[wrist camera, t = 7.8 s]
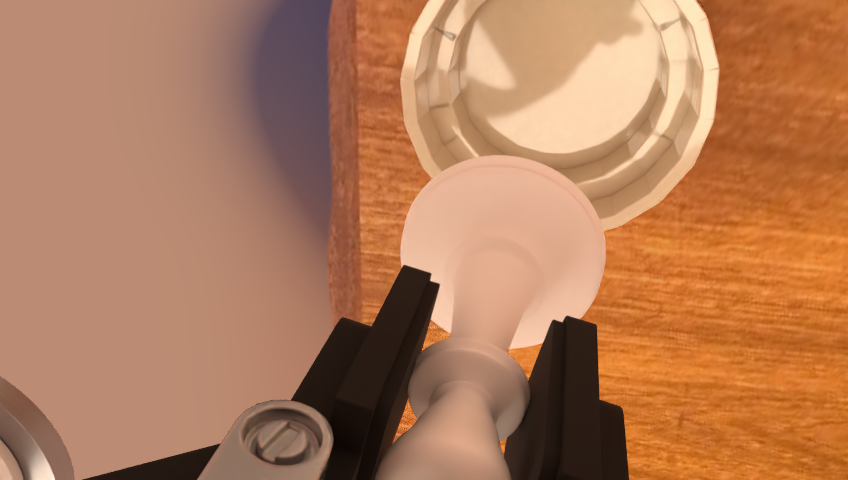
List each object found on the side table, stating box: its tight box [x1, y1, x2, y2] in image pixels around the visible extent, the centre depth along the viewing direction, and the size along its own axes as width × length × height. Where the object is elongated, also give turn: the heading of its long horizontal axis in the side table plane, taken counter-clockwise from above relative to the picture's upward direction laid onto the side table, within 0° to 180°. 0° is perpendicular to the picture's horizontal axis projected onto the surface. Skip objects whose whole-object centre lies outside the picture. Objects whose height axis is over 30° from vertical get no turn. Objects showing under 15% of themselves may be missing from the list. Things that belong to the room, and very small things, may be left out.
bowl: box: [400, 0, 720, 231], centre depth 29 cm, size 12×12×5 cm
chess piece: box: [374, 155, 606, 480], centre depth 12 cm, size 5×5×10 cm
